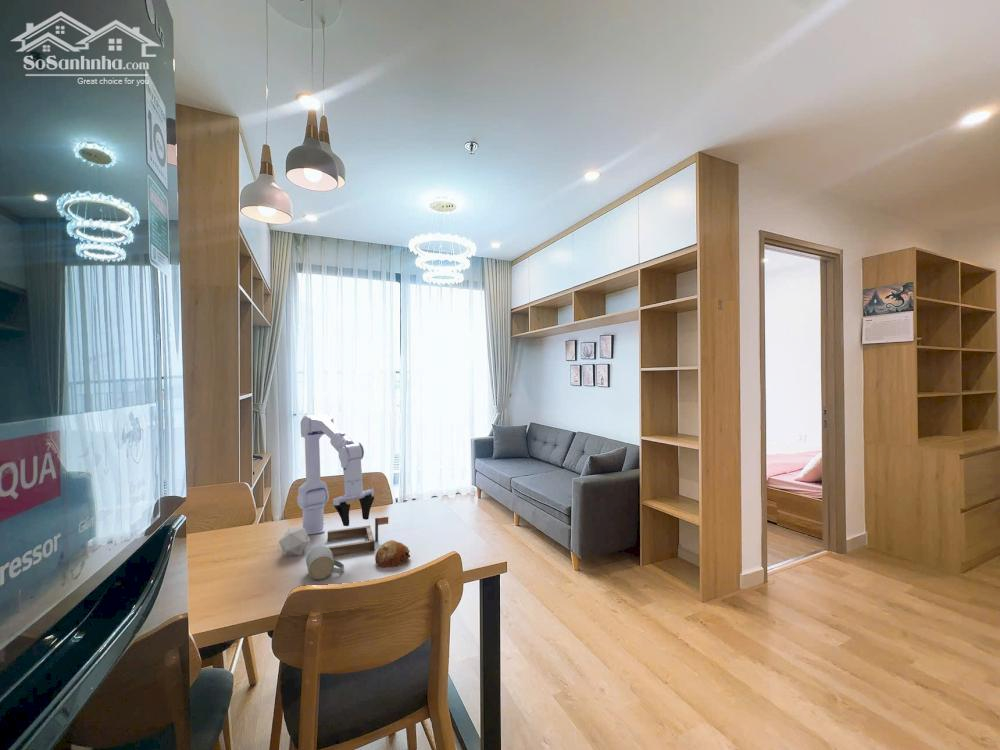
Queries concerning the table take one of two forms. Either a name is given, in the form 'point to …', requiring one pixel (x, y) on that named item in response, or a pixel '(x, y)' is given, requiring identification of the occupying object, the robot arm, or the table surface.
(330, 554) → the ceramic mug
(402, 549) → the bread roll
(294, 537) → the die
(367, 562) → the table surface
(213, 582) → the table surface
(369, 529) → the wooden tray
